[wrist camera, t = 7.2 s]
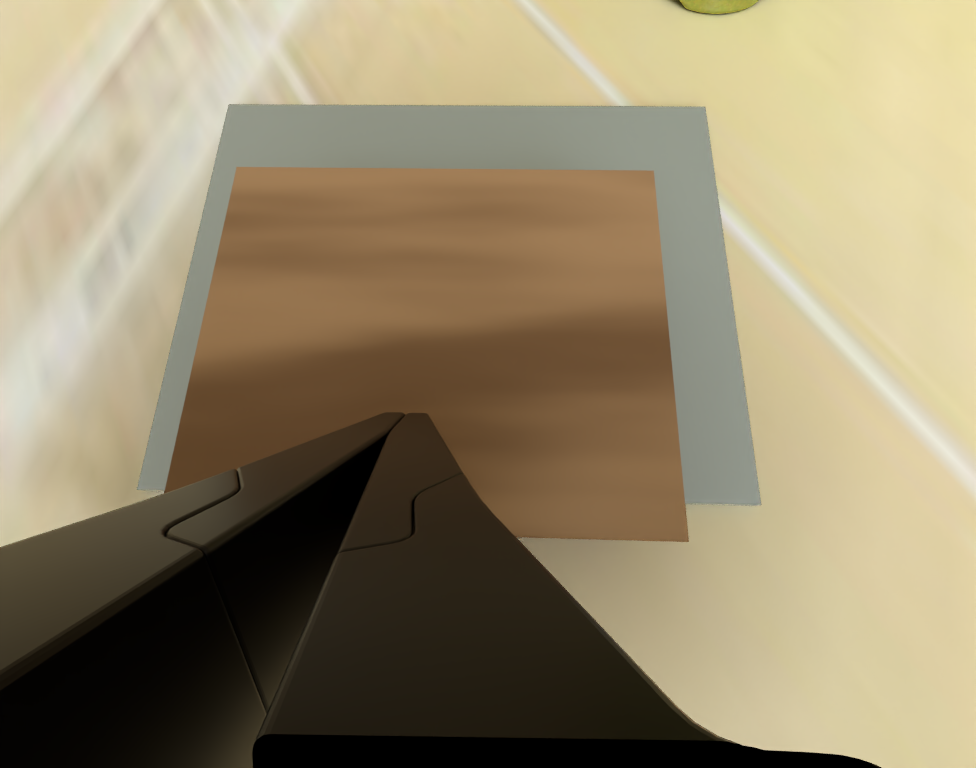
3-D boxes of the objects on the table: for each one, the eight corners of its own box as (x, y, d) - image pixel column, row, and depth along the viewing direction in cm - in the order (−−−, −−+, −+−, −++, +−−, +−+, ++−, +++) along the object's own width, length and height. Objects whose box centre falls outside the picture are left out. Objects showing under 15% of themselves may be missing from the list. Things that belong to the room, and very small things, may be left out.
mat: (756, 505, 15) (761, 505, 15) (143, 490, 16) (136, 490, 15) (702, 112, 20) (705, 106, 20) (232, 110, 20) (228, 104, 20)
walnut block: (688, 542, 10) (653, 170, 13) (156, 527, 11) (236, 167, 14) (633, 538, 15) (616, 255, 18) (251, 527, 15) (297, 251, 18)
